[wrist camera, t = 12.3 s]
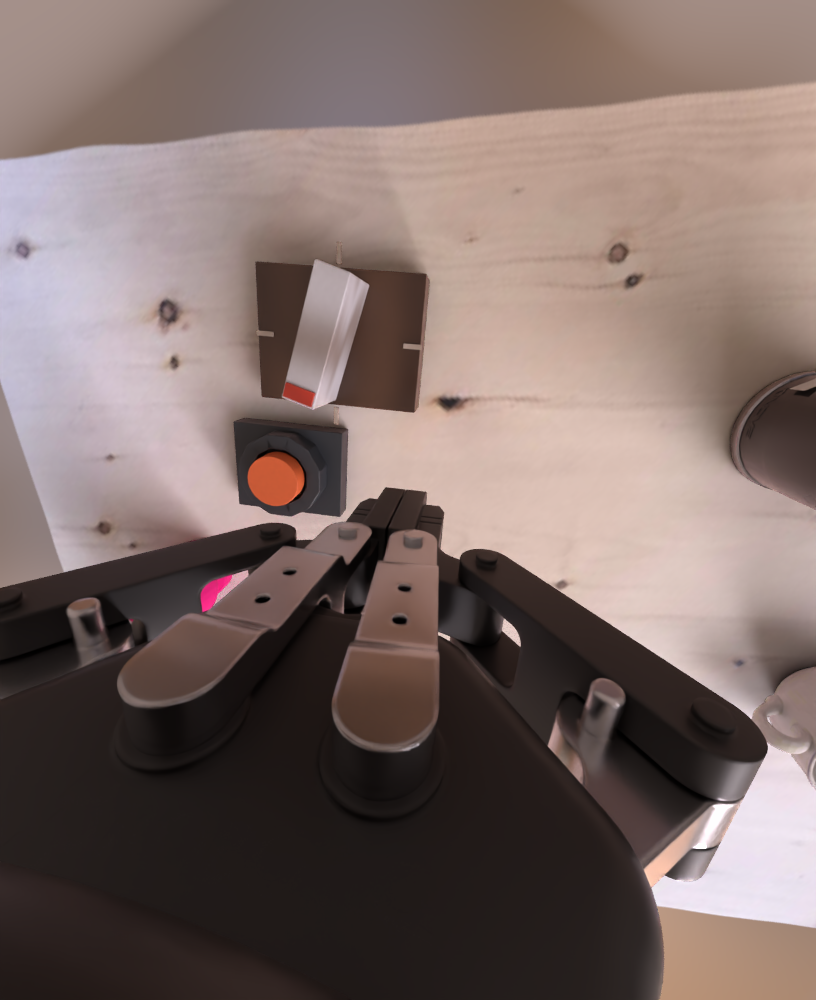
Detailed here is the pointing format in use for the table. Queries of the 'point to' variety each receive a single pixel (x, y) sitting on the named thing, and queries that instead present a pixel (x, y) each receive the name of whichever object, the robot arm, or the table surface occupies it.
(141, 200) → the table surface
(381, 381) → the block
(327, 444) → the grey base
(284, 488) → the button
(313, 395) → the white bar red tip
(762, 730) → the teacup
